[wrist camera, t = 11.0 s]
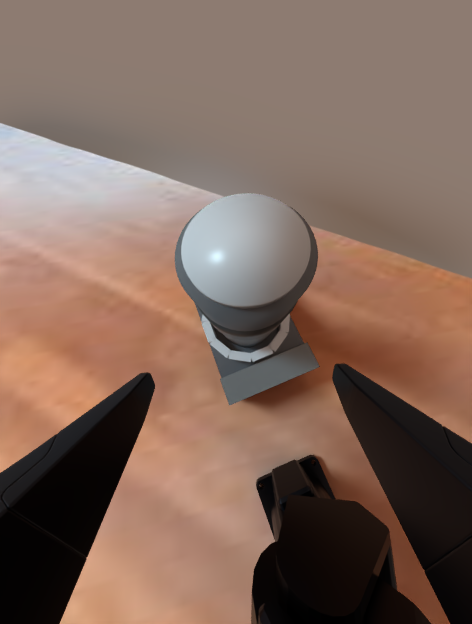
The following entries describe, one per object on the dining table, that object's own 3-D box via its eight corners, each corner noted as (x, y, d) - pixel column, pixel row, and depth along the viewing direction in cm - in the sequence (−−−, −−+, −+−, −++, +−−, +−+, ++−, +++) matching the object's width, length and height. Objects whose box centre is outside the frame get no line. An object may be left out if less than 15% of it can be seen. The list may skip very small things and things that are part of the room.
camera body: (306, 365, 20) (322, 366, 16) (232, 396, 20) (228, 406, 16) (262, 277, 24) (265, 258, 19) (198, 302, 23) (187, 289, 19)
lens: (282, 335, 18) (357, 281, 6) (230, 356, 18) (195, 347, 6) (259, 287, 20) (281, 166, 8) (211, 306, 20) (151, 213, 7)
